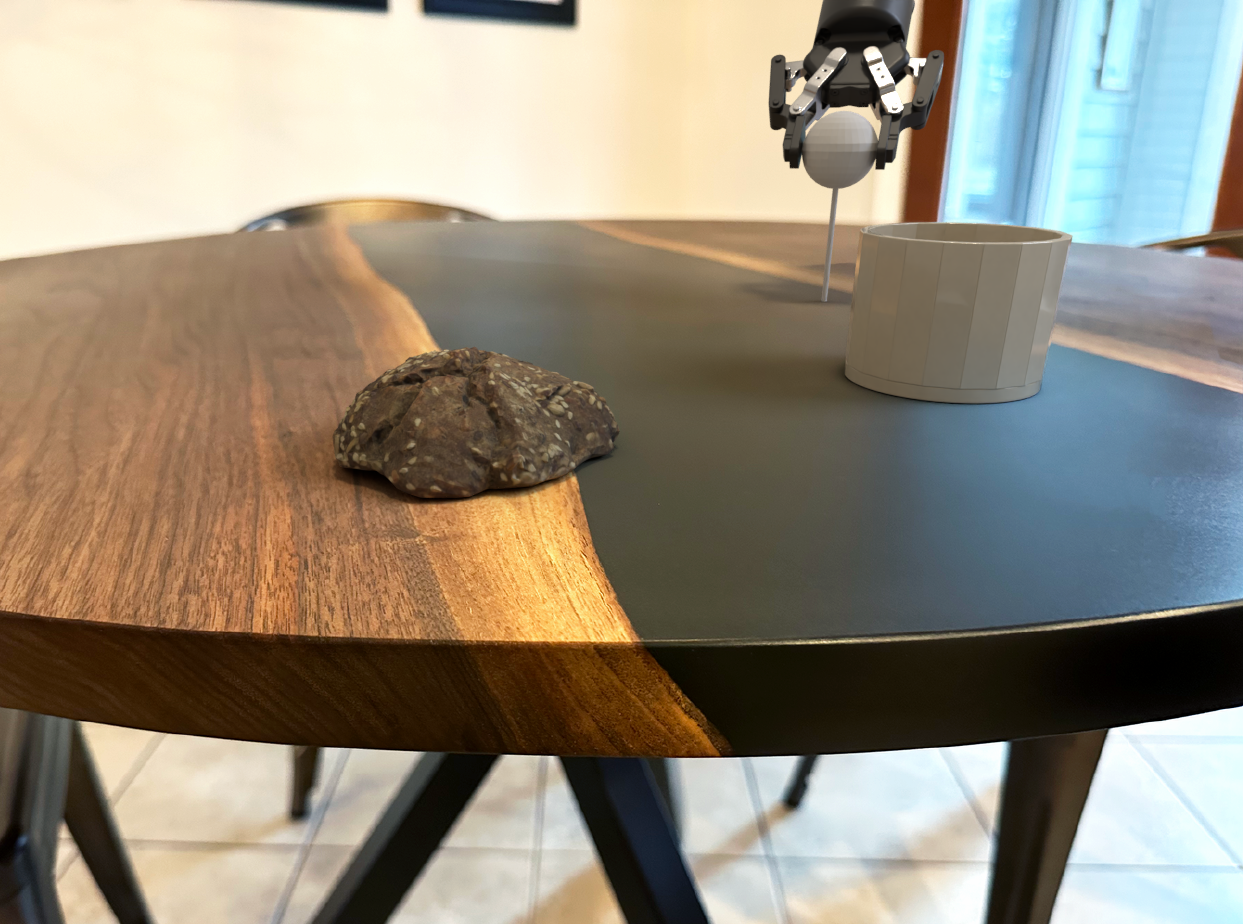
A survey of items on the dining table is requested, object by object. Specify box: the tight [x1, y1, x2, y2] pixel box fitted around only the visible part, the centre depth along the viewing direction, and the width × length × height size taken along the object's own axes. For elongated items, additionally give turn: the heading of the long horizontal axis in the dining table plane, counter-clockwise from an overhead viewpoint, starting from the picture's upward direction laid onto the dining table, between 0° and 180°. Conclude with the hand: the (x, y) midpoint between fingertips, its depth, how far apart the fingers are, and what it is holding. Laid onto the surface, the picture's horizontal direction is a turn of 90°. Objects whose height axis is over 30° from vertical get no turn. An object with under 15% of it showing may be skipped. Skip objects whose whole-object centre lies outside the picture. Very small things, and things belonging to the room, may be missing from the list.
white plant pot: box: [844, 221, 1074, 404], centre depth 55 cm, size 11×11×8 cm
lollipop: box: [801, 110, 879, 303], centre depth 78 cm, size 6×6×15 cm
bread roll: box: [332, 346, 621, 499], centre depth 44 cm, size 13×12×5 cm
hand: (836, 161), depth 75 cm, fingers closed on lollipop, 6 cm apart
